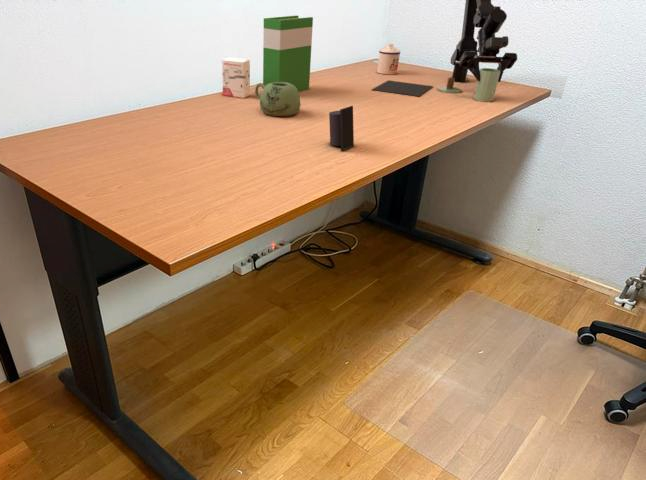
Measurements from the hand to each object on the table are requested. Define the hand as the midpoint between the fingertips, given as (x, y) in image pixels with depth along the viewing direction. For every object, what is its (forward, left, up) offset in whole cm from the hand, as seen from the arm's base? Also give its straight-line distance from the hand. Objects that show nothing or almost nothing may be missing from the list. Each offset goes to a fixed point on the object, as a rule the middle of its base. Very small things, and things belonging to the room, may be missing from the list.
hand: (489, 81), depth 177 cm
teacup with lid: (-29, -46, -7) cm, 54 cm away
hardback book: (+29, -66, -7) cm, 72 cm away
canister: (-1, -1, -7) cm, 7 cm away
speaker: (+77, -25, -7) cm, 81 cm away
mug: (+57, -55, -7) cm, 79 cm away
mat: (-1, -31, -7) cm, 31 cm away
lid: (-9, -15, -7) cm, 18 cm away
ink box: (+46, -77, -7) cm, 90 cm away
